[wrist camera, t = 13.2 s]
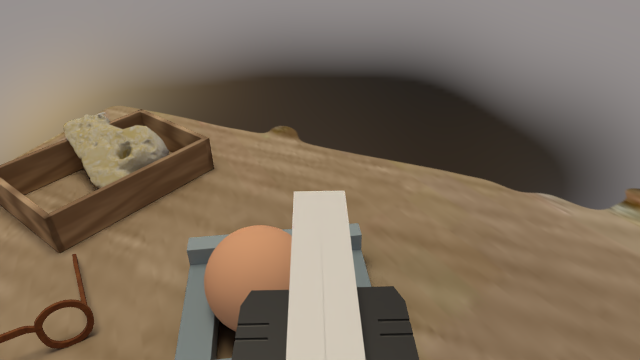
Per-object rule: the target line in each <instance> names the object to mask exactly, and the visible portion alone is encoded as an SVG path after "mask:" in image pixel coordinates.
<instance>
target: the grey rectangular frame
mask: <svg viewBox="0 0 640 360" xmlns="http://www.w3.org/2000/svg"><path fill="white" fill-rule="evenodd" d="M349 230H350V238H351V246H352V254H353V262H354V270H355V278H356V286H357V287H371V284H370V280H369V277H368V273H367V269H366V266H365V262H364V258H363V255H362V251H361V236H362V235H361V231H360V228H359V224H358V223H355V224H349ZM283 231H285V232H287V233H288V234H290V235H291V236H292V229H286V230H283ZM229 235H230V234H229ZM227 236H228V235H217V236H206V237H194V238H189V241H188V247H187V253H188V258H189V262H190V269H189V275H188V281H187V288H186V294H185V300H184V306H183V312H182V318H181V324H180V330H179V336H178V343H177V349H176V355H175V360H216V355H217V342H218V330H219V319H218V318H217V317H216V316H215V314H214V313H213V311H212V310H211V308H210V306H209V304H208V301H207V298H206V295H205V289H204V275H205V270H206V265H207V263H208V260H209V258H210V256H211V254H212V252H213V251H214V249H215V248H216V247H217V245H218V244H219V243H220V242H221V241H222V240H223V239H224V238H225V237H227ZM217 360H232V358H227V359H217Z"/></svg>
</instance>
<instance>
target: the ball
mask: <svg viewBox="0 0 640 360" xmlns="http://www.w3.org/2000/svg"><path fill="white" fill-rule="evenodd" d="M291 244H292V236H291V235H290V234H288V233H287V232H285V231H283V230H281V229H278V228H275V227H271V226H265V225H255V226H249V227H245V228H242V229H239V230H237V231H235V232H233V233H231V234H230V235H228V236H227V237H225V238H224V239H223V240H222V241H221V242H220V243H219V244H218V245H217V247H216V248H215V249H214V251H213V252H212V254H211V256H210V258H209V260H208V263H207V265H206V270H205V275H204V289H205V295H206V298H207V301H208V304H209V306H210V308H211V310H212V311H213V313H214V314H215V316H216V317H217V318H218V319H219V320H220V321H221V322H222V323H223V324H224V325H226V326H227V327H228V328H230V329H232V330H234V331H236V329H237V326H238V324H237V323H238V317H239V311H240V306H241V304H242V303H243V302H244V300H245V299H246V297H247V296H248V294H249V293H250V292H251V290H289V285H290V265H291Z"/></svg>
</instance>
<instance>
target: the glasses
mask: <svg viewBox="0 0 640 360" xmlns="http://www.w3.org/2000/svg"><path fill="white" fill-rule="evenodd" d="M72 256H73V264H74V268H75V273H76V278H77V283H78V287H79V292H80V297H81V301H79V300H63V301H60V302H56V303H54V304H52V305H50V306H48V307H47V308H45V309H44V310H43V311H42V312H41V313H40V314H39V316H38V317H37V318H36V320H35V322H34V326H23V327H20V328H17V329H14V330H11V331H9V332H6V333H4V334H1V335H0V343H2V342H5V341H7V340H10V339H13V338H15V337H18V336H20V335H23V334H26V333H33V332H36V334H37V336H38V337H39V339H40V340H41V341H42V342H43V343H44V344H45V345H46V346H48V347H51V348H66V347H69V346H71V345H74V344H76V343H79V342H81V341H82V340H84V339H85V338H86V337H87V336H88V335H89V334H90V333H91V331H92V329H93V325H94V317H93V313H92V311H91V309H90V308H89V307H88V305H87V301H86V297H85V292H84V288H83V283H82V279H81V275H80V271H79V267H78V262H77V256H76V254H72ZM65 307H76V308H79V309H81V310H82V311H83V312H84V313H85V315H86V317H87V325H86V327H85V329H84V330H83V331H82V332H81V333H80V334H79V335H77V336H76V337H74V338H71V339H68V340H64V341H55V340H52V339H50V338H49V337H48V336H47V335H46V334H45V332H44V331H43V328H42V325H43V322H44V320H45V319H46V318H47V316H48V315H50V314H51V313H52V312H54V311H56V310H58V309H61V308H65Z"/></svg>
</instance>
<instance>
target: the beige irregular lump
mask: <svg viewBox="0 0 640 360" xmlns="http://www.w3.org/2000/svg"><path fill="white" fill-rule="evenodd" d="M103 114H106V113H104V112H102V113H99V114H97V115H93V116H90V115H87V114H86V115H85V116H84V117H83V118H79V119H75V120H74V119H73V120H70V121H68V122H67V123H65V124H64V128H63V129H64V132H65V137H66V139H67V140H68V141H69V142H70V144H71V145H72V147H73V148H74V151H75V153H76V154H77V155H78V157H79V158H80V159H82V163H83V167H84V168H85V170H86V172H87V174H88V176H89V177H90V179H91V182H92V183H93V184H94V185H95V186H96V187H98V188H102V187H104V186H106V185H108V184H110V183H112V182H114V181H116V180H118V179H120V178H122V177H124V176H126V175H128V174H130V173H132V172H134V171H137V170H139V169H141V168H143V167H145V166H147V165H149V164H151V163H153V162H155V161H157V160H159V159H161V158H163V157H165V156H167V155H169V154H168V153H169V150H168V149H167V147H166V146H165V144H164V142H163V140H162V139H161V138H160V137H159V136H158V135H157V134H156V133H155V132H153V131H152V130H151V129H150V128H148V127H147V126H140V125H135V126H133V127H129V128H126V129H121V128H118V127H115V126H113V125H110V121H109V119H108V118H107V117H105V116H104V115H103Z"/></svg>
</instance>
